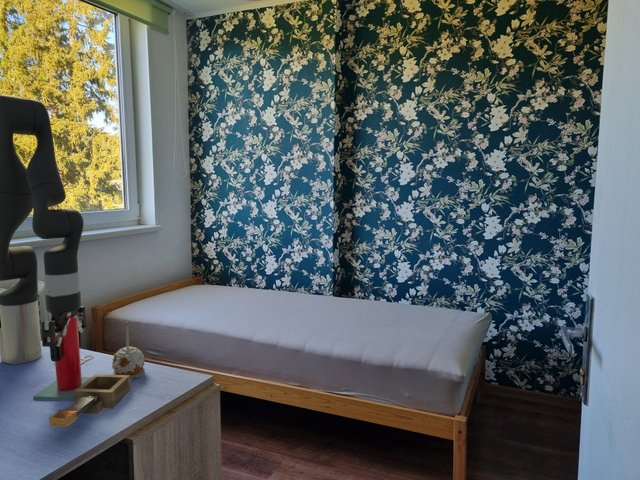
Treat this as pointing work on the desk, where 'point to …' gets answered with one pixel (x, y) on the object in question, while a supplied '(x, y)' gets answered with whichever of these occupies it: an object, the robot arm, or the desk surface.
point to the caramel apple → (128, 360)
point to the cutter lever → (72, 411)
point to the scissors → (84, 360)
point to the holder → (104, 391)
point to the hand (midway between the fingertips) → (67, 353)
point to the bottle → (69, 358)
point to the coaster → (56, 392)
